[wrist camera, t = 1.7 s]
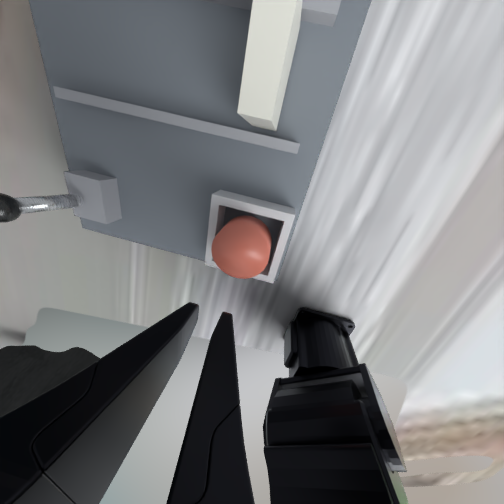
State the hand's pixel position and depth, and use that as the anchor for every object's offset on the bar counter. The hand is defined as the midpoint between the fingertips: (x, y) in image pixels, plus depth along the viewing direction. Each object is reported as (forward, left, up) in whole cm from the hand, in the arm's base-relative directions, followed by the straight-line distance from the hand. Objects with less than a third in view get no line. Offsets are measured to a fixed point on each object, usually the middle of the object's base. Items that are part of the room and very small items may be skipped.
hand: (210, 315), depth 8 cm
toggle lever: (+14, 0, -8) cm, 15 cm away
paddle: (+1, -10, -9) cm, 14 cm away
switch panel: (+7, -5, -12) cm, 15 cm away
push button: (0, 0, -8) cm, 8 cm away
